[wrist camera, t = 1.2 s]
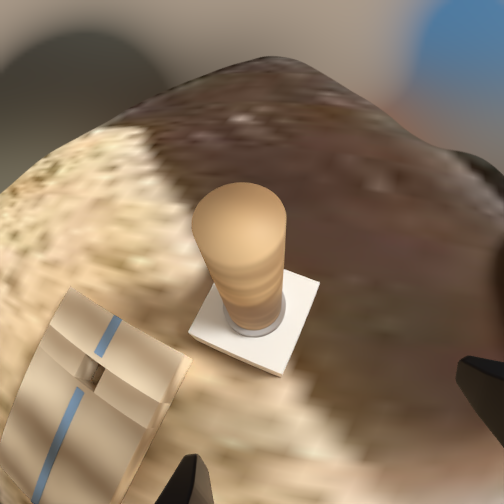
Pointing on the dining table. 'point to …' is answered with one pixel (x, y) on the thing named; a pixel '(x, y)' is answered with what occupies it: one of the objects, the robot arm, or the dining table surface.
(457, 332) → the dining table surface
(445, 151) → the dining table surface
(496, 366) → the robot arm
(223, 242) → the awl
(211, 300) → the awl holder
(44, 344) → the beige flat rectangular piece
